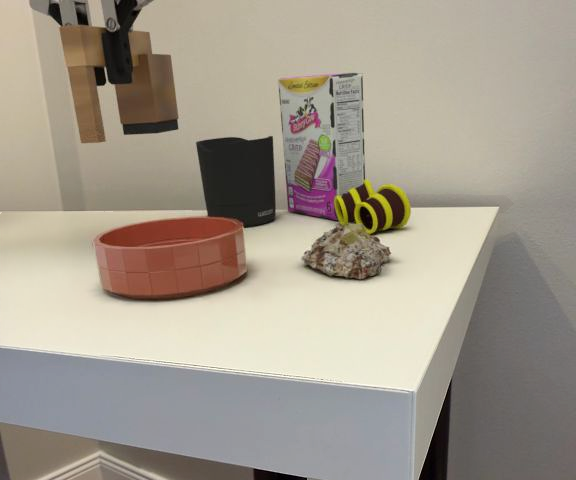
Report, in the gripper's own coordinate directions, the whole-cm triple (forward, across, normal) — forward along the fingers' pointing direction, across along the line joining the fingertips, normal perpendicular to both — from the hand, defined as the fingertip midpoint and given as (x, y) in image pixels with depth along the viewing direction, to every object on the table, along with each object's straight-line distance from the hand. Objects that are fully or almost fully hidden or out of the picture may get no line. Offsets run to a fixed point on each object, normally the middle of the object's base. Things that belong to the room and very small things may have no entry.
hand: (107, 83), depth 59 cm
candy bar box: (+17, +13, +26) cm, 34 cm away
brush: (+5, 0, +2) cm, 5 cm away
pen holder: (+17, +3, +22) cm, 28 cm away
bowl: (+17, +7, -5) cm, 19 cm away
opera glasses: (+17, +20, +18) cm, 32 cm away
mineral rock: (+17, +22, +1) cm, 27 cm away
